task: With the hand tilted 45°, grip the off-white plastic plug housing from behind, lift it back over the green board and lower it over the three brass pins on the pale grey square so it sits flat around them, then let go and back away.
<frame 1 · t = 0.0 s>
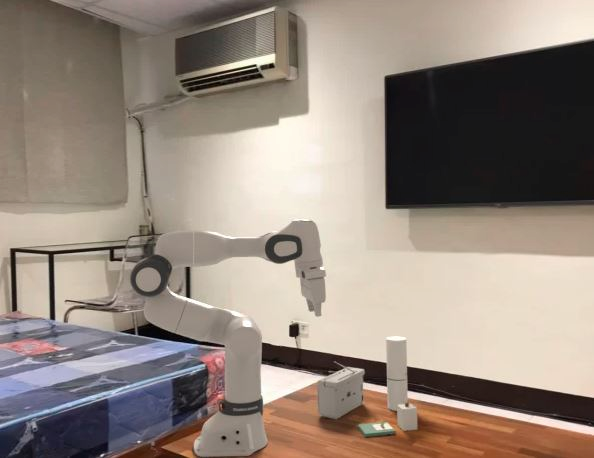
hand: (314, 313, 172), 39 cm above the table, tool pointing down, fingers open, 8 cm apart
cylindrical container: (397, 408, 197), on the table
stereo radio cassette player: (342, 411, 195), on the table
header board: (376, 430, 176), on the table
plug housing: (407, 427, 178), on the table
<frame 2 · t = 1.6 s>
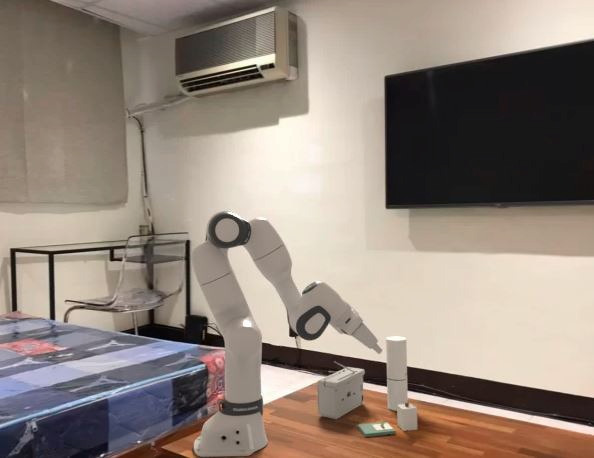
hand: (375, 348, 176), 26 cm above the table, tool tilted 45°, fingers open, 8 cm apart
nothing on the table moved.
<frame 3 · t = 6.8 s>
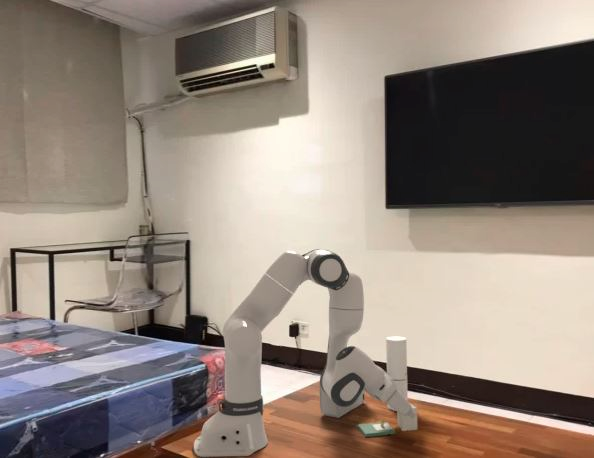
hand: (407, 411, 178), 5 cm above the table, tool tilted 45°, fingers open, 8 cm apart
stereo radio cassette player: (344, 409, 197), on the table
everything else where it was.
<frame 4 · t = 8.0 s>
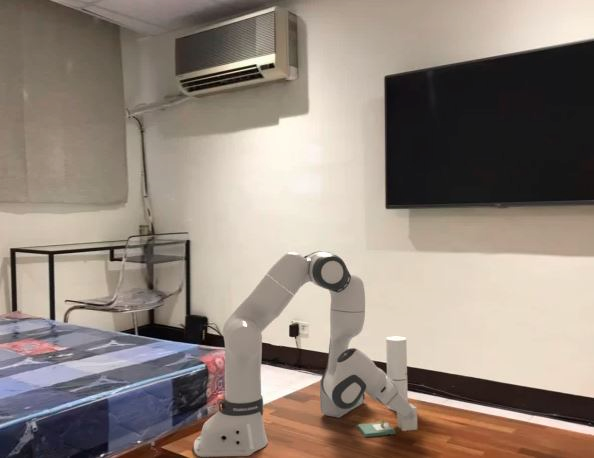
hand: (408, 414, 178), 4 cm above the table, tool tilted 45°, fingers closed on plug housing, 5 cm apart
plug housing: (407, 427, 178), on the table, touching gripper
everything else where it was.
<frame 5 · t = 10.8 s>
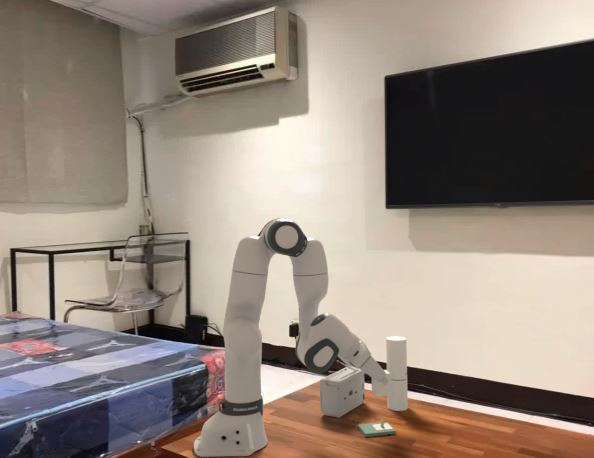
hand: (383, 380, 176), 16 cm above the table, tool tilted 45°, fingers closed on plug housing, 5 cm apart
plug housing: (381, 393, 176), point 12 cm above the table, touching gripper
everything else where it was.
when the fingers open (6 cm above the table, at t = 13.9 s): plug housing stays where it is, resting on header board.
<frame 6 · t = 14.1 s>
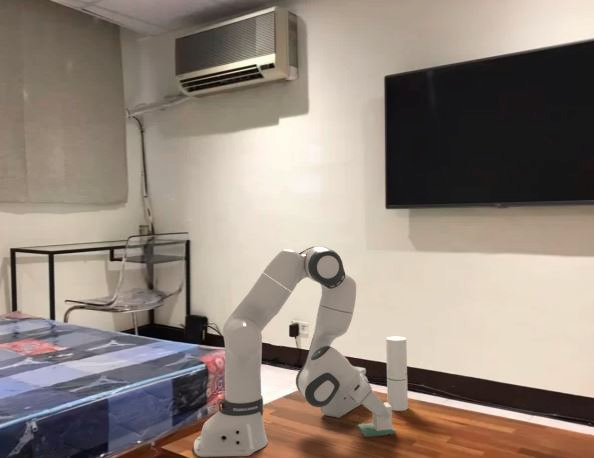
hand: (383, 412, 176), 6 cm above the table, tool tilted 45°, fingers open, 7 cm apart
plug housing: (382, 426, 176), point 1 cm above the table, touching header board
everything else where it was.
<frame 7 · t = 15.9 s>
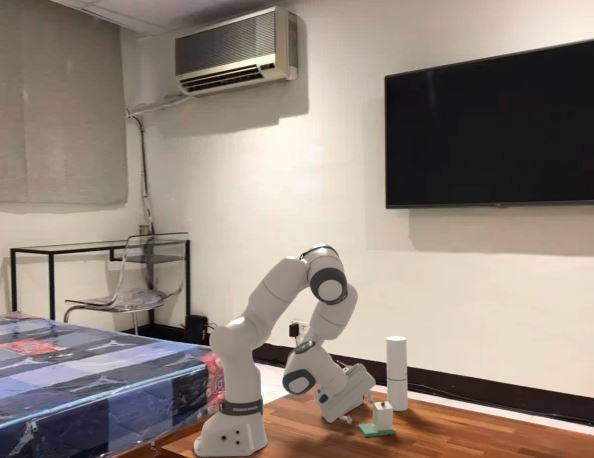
hand: (361, 411, 177), 6 cm above the table, tool tilted 40°, fingers open, 8 cm apart
plug housing: (382, 425, 176), point 2 cm above the table, tilted 10°, touching gripper, header board
everything else where it was.
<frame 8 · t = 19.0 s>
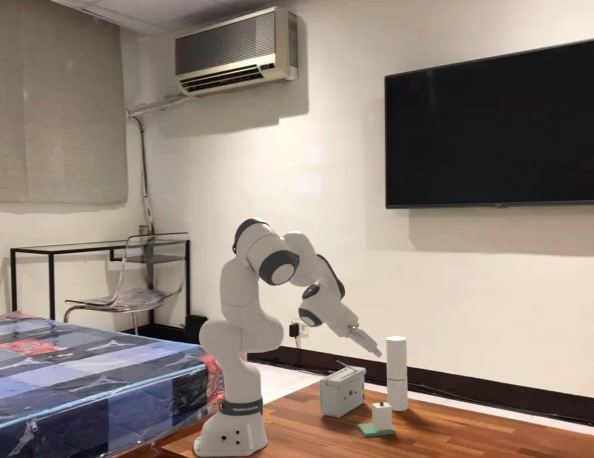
hand: (375, 352, 176), 25 cm above the table, tool tilted 45°, fingers open, 8 cm apart
plug housing: (382, 426, 176), point 1 cm above the table, touching header board
everything else where it was.
at the end: plug housing 0.1 cm from the target spot on the header board, point 1.1 cm above the header board's base; plug housing tilted 0°; the gripper is holding nothing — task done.
